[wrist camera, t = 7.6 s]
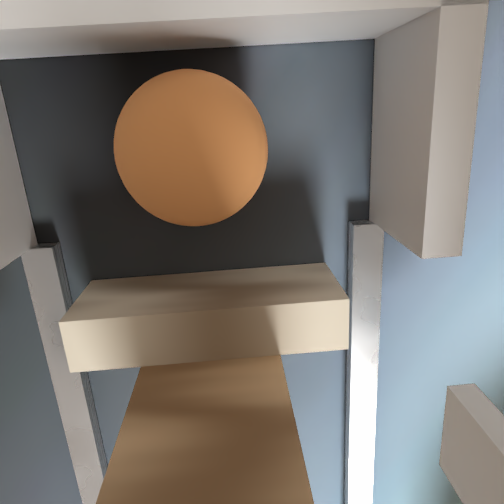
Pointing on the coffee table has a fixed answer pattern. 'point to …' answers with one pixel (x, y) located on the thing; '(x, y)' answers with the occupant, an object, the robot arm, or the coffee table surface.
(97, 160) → the coffee table surface
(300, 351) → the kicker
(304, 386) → the coffee table surface
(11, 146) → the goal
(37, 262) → the rails
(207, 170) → the ball
